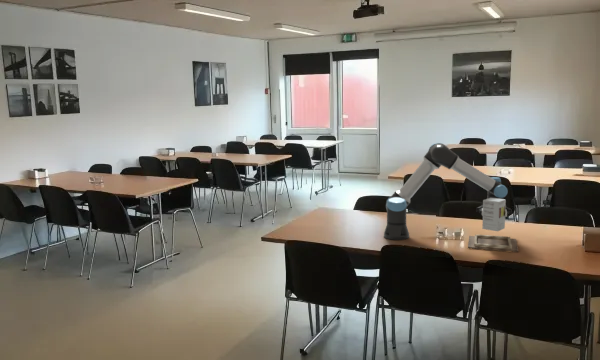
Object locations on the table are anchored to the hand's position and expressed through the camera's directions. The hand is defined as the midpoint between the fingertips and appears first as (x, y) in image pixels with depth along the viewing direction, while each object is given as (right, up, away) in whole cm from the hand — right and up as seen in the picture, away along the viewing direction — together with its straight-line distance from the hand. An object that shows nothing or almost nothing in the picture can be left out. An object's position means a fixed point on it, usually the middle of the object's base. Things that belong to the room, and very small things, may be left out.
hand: (494, 213), depth 284 cm
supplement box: (+1, -9, +3) cm, 9 cm away
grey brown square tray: (+1, -18, +6) cm, 19 cm away
